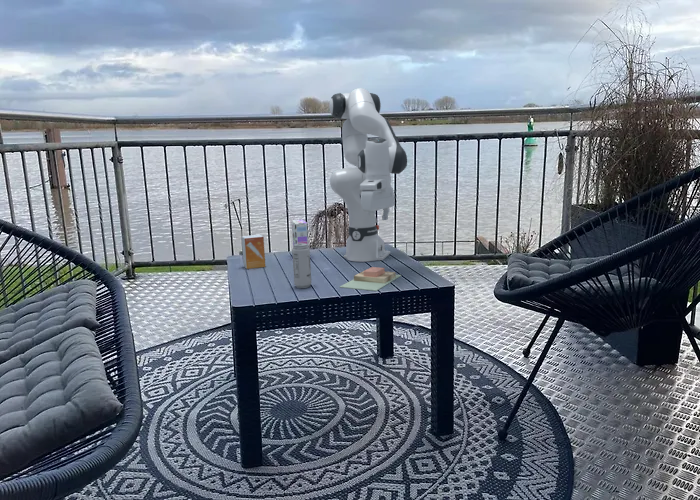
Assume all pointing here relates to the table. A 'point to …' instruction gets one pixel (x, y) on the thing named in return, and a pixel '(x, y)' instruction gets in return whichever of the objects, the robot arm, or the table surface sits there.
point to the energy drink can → (301, 265)
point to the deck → (380, 279)
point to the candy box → (300, 232)
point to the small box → (253, 251)
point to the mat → (366, 284)
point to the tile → (374, 272)
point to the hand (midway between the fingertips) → (379, 221)
